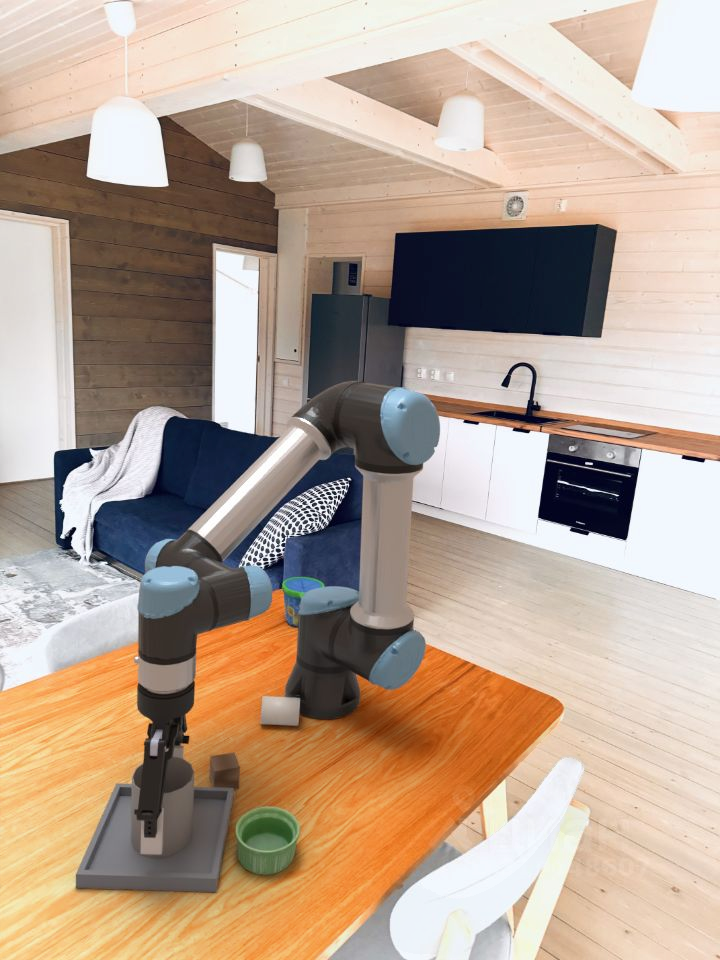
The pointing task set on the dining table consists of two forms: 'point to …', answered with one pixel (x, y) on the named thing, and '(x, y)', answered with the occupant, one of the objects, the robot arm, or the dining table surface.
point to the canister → (280, 710)
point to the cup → (168, 807)
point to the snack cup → (296, 595)
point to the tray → (183, 871)
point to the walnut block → (224, 771)
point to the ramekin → (266, 840)
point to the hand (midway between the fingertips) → (163, 816)
